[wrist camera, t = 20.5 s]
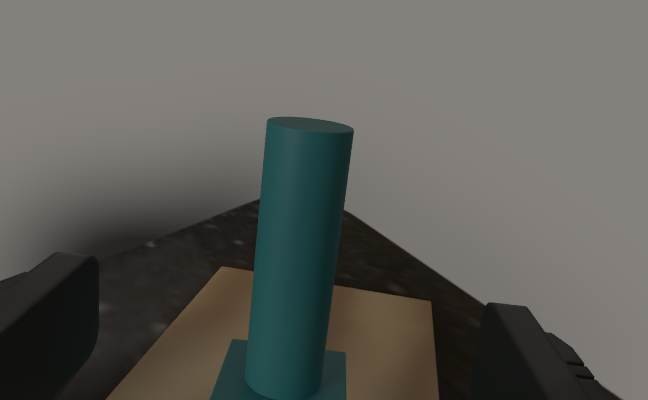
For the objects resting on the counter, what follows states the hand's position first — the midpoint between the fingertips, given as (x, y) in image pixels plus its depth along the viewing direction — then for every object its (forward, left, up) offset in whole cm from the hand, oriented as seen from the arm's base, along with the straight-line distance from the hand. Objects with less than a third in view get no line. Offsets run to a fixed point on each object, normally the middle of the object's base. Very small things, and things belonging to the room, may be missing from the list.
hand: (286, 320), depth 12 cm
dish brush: (+1, -9, -10) cm, 13 cm away
